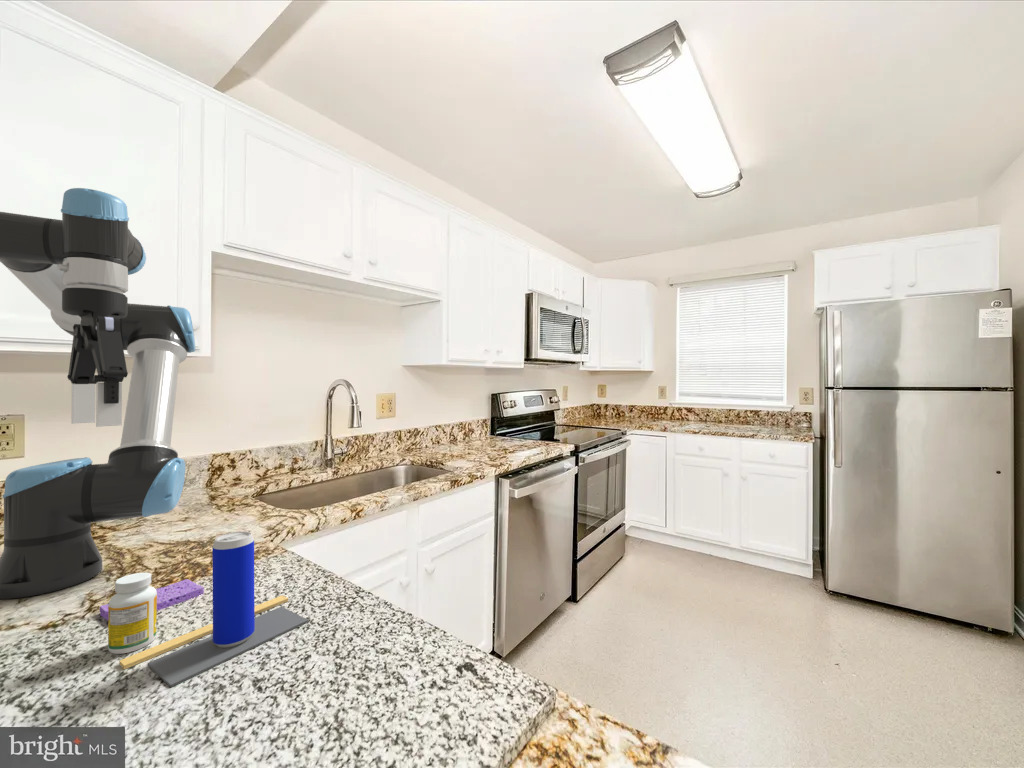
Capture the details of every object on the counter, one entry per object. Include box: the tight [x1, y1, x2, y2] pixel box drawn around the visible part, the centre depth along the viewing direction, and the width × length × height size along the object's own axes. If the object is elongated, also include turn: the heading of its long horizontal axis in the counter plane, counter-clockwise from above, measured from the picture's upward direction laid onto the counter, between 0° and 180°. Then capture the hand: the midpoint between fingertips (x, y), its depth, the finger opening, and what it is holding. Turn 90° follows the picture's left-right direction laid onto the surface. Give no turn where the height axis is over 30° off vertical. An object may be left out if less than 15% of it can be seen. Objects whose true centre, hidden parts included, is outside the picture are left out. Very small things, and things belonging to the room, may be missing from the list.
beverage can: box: [211, 530, 255, 648], centre depth 64 cm, size 5×5×15 cm
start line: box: [119, 594, 289, 670], centre depth 67 cm, size 2×22×1 cm, turn 146°
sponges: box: [99, 578, 205, 621], centre depth 75 cm, size 7×13×2 cm, turn 146°
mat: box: [146, 606, 309, 688], centre depth 63 cm, size 8×18×1 cm, turn 146°
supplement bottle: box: [107, 572, 158, 655], centre depth 63 cm, size 5×5×10 cm
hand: (95, 424), depth 68 cm, fingers open, 13 cm apart
